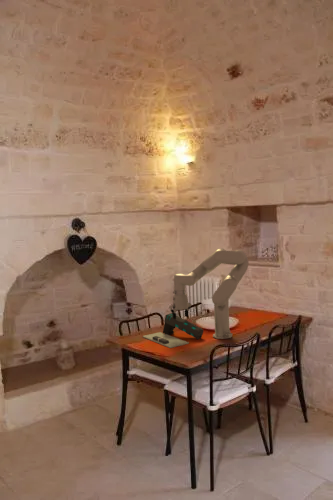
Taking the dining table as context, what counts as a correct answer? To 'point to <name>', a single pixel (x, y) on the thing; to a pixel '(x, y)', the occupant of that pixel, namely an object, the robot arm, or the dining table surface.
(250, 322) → the dining table surface
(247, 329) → the dining table surface
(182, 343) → the mat
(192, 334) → the gun
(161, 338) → the bound lead
